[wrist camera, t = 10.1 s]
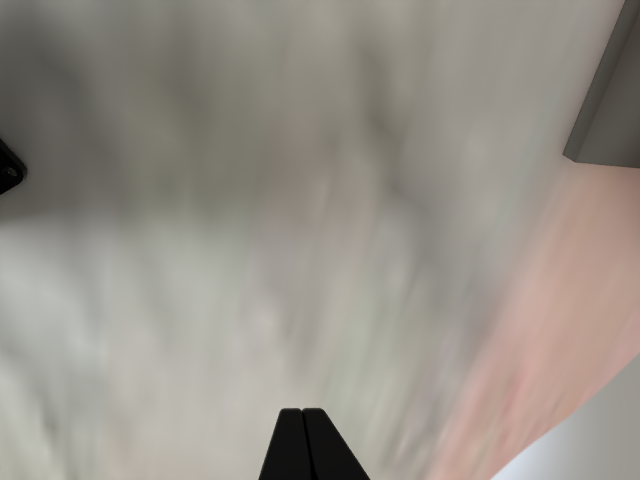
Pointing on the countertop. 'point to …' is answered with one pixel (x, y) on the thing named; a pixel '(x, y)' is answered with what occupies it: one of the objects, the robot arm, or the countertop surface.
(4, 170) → the robot arm
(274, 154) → the countertop surface
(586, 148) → the base plate
